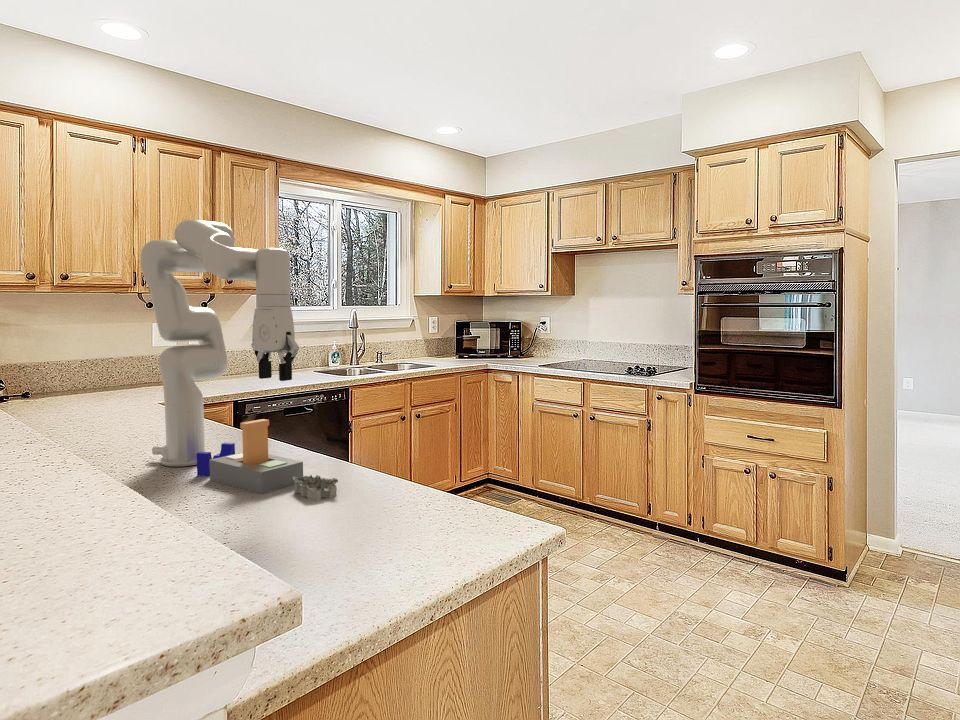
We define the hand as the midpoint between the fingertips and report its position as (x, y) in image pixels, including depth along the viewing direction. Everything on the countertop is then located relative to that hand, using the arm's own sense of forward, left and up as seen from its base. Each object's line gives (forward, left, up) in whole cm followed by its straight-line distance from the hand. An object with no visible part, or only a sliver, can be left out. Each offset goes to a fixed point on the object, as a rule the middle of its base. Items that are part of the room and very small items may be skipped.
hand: (275, 378), depth 147 cm
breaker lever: (-7, +5, -23) cm, 25 cm away
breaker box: (-7, +5, -26) cm, 27 cm away
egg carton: (+10, -5, -26) cm, 29 cm away
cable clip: (-21, +15, -26) cm, 37 cm away
